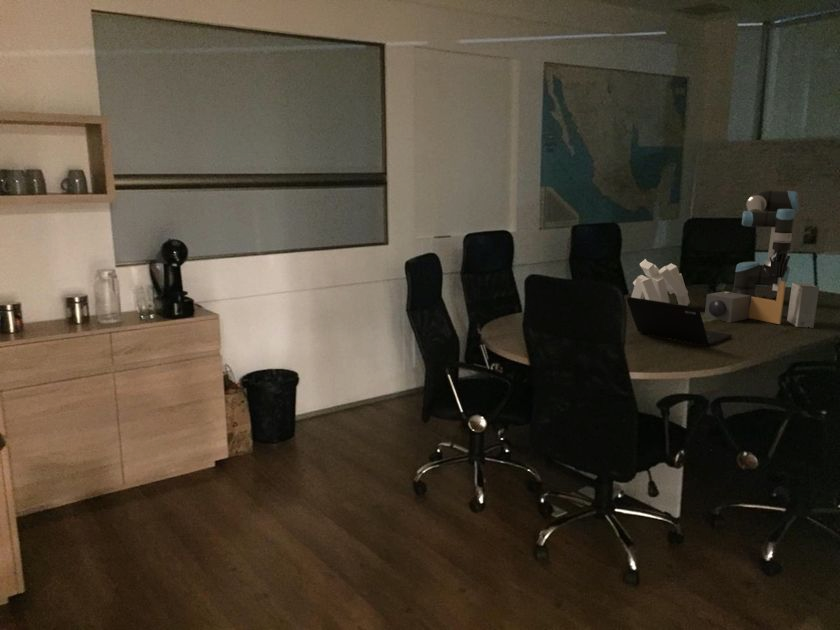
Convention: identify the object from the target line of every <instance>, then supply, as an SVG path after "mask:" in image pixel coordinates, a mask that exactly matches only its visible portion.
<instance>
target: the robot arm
mask: <svg viewBox="0 0 840 630" xmlns="http://www.w3.org/2000/svg"><path fill="white" fill-rule="evenodd" d="M745 206H746V209H747V210H744V211H742V217H741V219H742V220H741V225H742V226H744V227H749V228H750V227H755V228H756V227H757V228H759V227H760V228H771V229H770V230H771V231H770V238H769V245H768V253H767V259H766V260H765V261H764V262H763V264H761V263H760V262H759V261H743V262H739V263H738V264H736V267H735V271H734V272H735V276H734V283H733V289H732V291H731V293H738V294H744V295H750V302H751V297H758V298H759V296H758V291H757V286H759V287H760V286H763V287H772V289H771V291H775V292H777V291H779V290H780V283H781V281H785V282H786V283H787V281H788V279H789V276H790V275H789V274H790V271H791V268H790V266H788V264H789V260H790V259H791V256H790V255H788V251H790V250H791V244H792V243H791V242H792V238H793V230H794V224H795V223H794V221H795V218H796V217H795V215H797V214H799V193H798V192H797V191H795V190H794V191H793V190H771V189H770V190H769V189H768V190H765V189H764V190H760V191H758V192H755V193H753V194H751V195H750V196H749V197H747V200H746V205H745ZM749 306H750V304H749Z"/></svg>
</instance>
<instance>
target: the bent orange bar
mask: <svg viewBox="0 0 840 630" xmlns="http://www.w3.org/2000/svg"><path fill="white" fill-rule="evenodd" d="M786 284H787V282H785V281H781V283H780V290H779V291H776V299H775V300H776V301H775V300H772V299H769V298H766V299H764V298H762V297H759V296H758V297H751V302H750V305H749V312H748V319H753V320H756V321H762V322H767V323H772V324H777V325H781V323H782V314H783V307H784V299H785V292H786Z"/></svg>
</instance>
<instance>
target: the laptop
mask: <svg viewBox="0 0 840 630" xmlns="http://www.w3.org/2000/svg"><path fill="white" fill-rule="evenodd" d="M626 301H627V305H628V307H629V308H628V309H629V311H630V314H631V316H632V319H633V321H634V324H635V327H636V330H637V333H638V332H639V333H640V334H644V335H648V334H649V335H650V336H653V335H654V336H653V337H658V336H659V337H660V338H663V337H665V339H668V338H671V339H670V340H674V339H676V341H679V340H681V341H680V342H684V341H686V342H685V343H690V342H691V343H692V344H695V343H696V345H700V344H701V345H700V346H705V347H708V346H712V345H714V344H717V343H719V342H722V341H725V340H727V339H730V338H732V336H733V335H732V334H729V333H724V332H718V331H717V332H716V331H711V330H706V328H705V324H704V320H703V316H702V312H701V310H700V308H699V307H698V306H693V305H692V306H691V305H688V306H686V305H679V304H678V303H672V302H670V303H666V302H659V301H653V300H646V299H645V298H644V299H640V298H633V297H631V296H627V298H626ZM659 337H658V338H659Z"/></svg>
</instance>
